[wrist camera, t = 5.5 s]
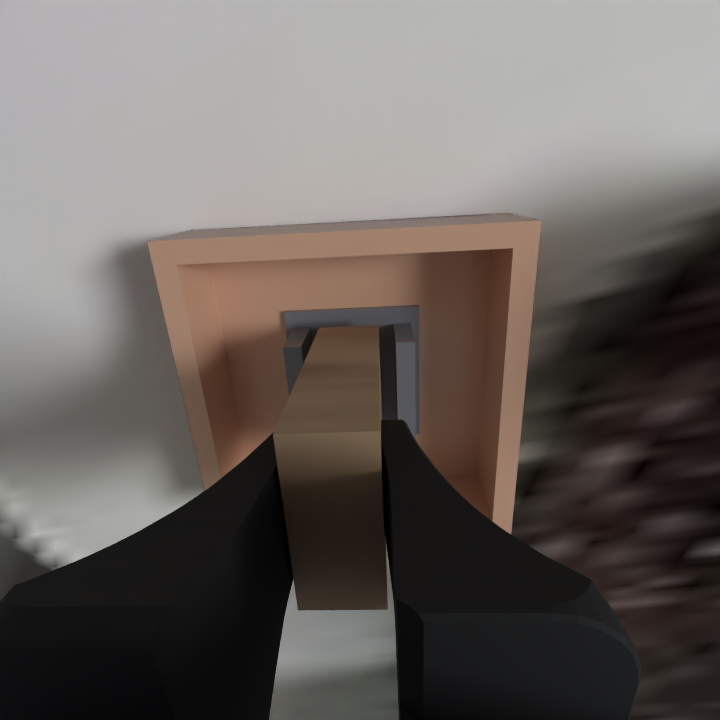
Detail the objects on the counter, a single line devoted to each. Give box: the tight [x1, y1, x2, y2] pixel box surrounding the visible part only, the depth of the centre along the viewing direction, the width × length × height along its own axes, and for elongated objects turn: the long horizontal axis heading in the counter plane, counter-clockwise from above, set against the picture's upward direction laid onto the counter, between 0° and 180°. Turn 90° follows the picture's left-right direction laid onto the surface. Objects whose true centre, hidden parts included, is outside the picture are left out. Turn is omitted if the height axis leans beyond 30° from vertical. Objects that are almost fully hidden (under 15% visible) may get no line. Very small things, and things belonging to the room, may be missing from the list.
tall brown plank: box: [273, 325, 388, 610], centre depth 12 cm, size 4×2×7 cm, turn 3°
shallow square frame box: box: [147, 213, 542, 534], centre depth 16 cm, size 11×11×3 cm
